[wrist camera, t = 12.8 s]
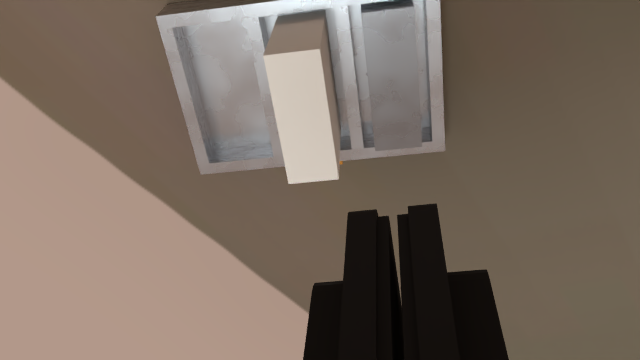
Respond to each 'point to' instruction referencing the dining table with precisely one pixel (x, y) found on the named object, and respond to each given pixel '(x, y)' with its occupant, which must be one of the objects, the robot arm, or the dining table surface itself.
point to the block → (304, 96)
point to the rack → (349, 71)
